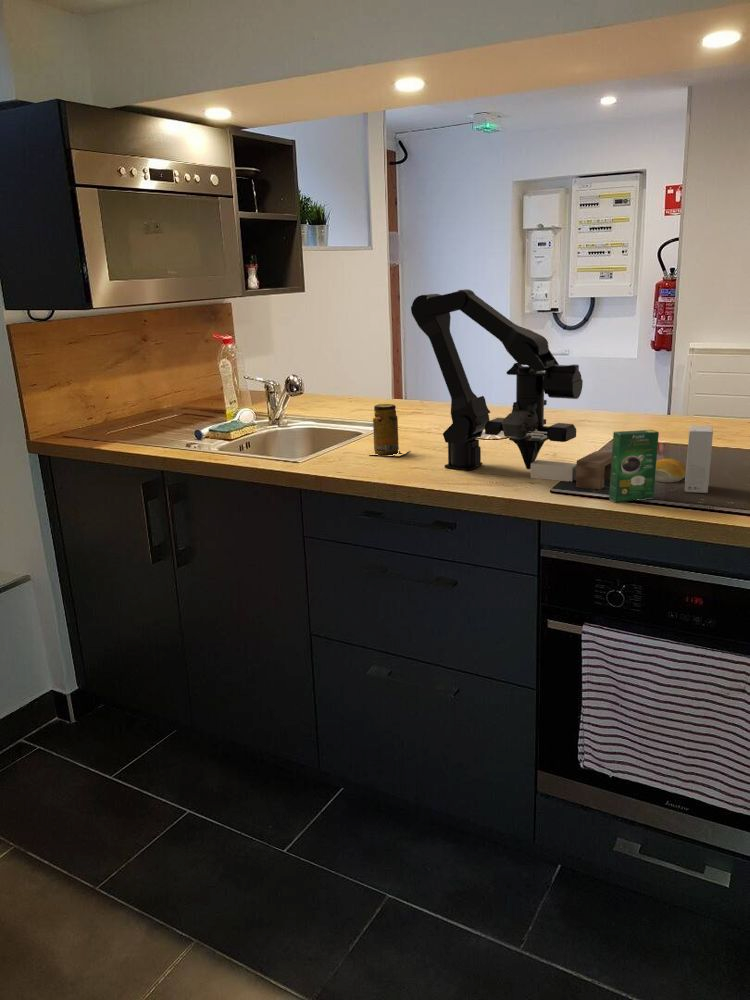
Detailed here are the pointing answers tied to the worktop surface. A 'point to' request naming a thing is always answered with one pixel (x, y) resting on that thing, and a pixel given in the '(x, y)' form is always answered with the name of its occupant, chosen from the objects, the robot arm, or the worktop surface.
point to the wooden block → (593, 470)
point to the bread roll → (669, 470)
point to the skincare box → (698, 459)
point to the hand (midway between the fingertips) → (529, 468)
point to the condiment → (385, 429)
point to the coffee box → (633, 465)
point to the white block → (553, 470)
